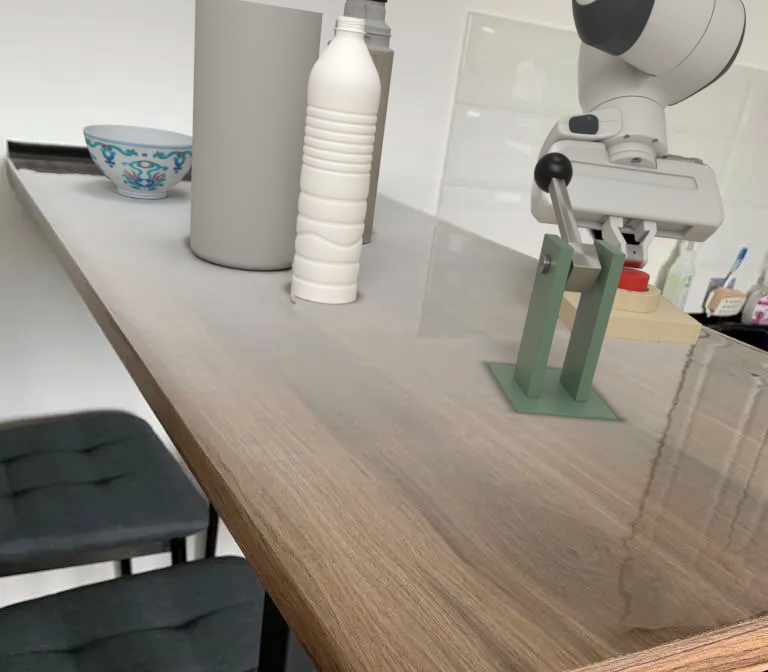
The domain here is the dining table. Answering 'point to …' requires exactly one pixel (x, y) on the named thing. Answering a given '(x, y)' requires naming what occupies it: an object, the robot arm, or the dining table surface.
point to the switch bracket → (573, 383)
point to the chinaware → (139, 158)
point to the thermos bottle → (370, 6)
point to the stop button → (633, 280)
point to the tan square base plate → (640, 317)
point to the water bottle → (336, 167)
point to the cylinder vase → (249, 130)
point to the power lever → (568, 221)
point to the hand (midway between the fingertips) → (631, 264)
